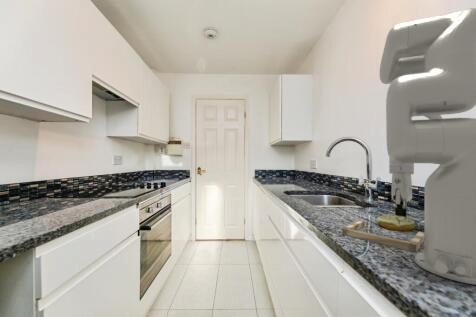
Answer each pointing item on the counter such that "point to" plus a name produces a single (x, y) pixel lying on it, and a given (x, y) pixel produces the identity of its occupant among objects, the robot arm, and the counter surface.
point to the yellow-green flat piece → (396, 222)
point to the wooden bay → (401, 244)
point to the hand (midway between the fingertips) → (400, 218)
